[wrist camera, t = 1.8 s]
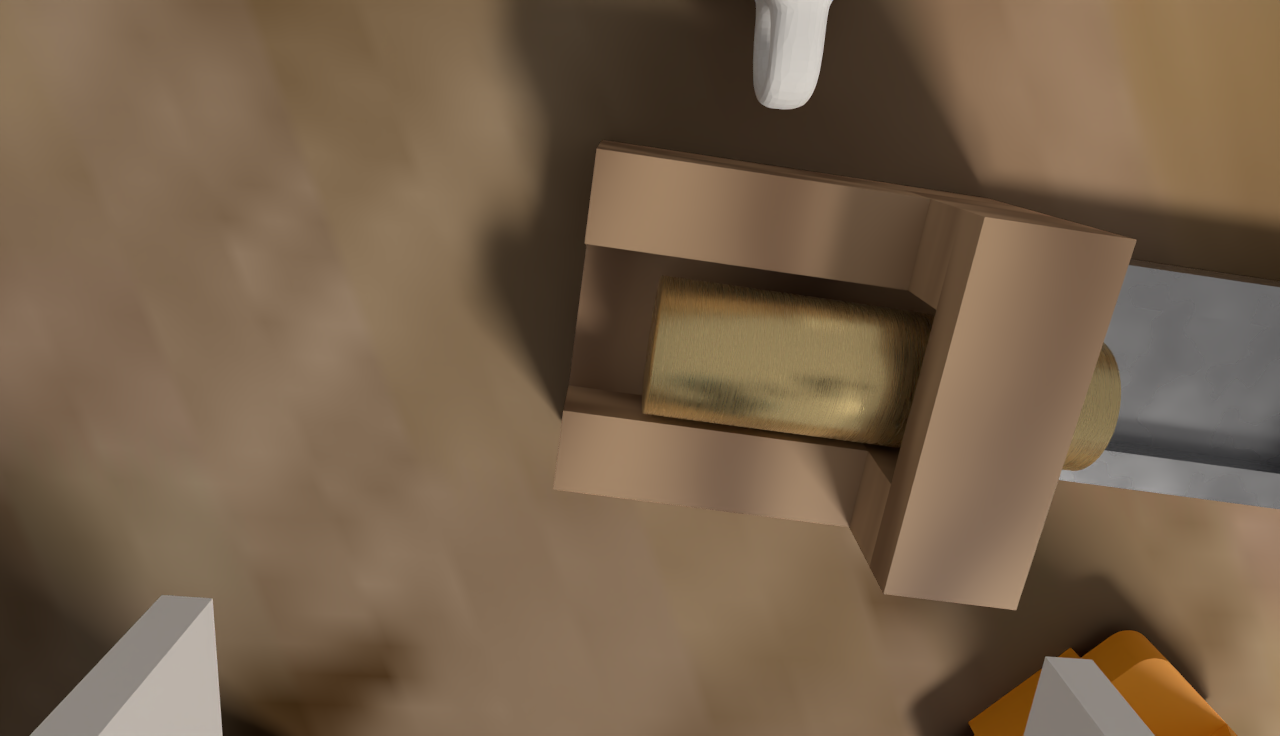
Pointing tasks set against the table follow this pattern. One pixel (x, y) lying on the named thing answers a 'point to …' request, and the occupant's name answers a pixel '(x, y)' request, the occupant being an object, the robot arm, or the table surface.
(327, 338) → the table surface
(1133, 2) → the table surface
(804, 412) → the axle
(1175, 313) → the v block
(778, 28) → the cup
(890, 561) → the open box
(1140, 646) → the bracket
